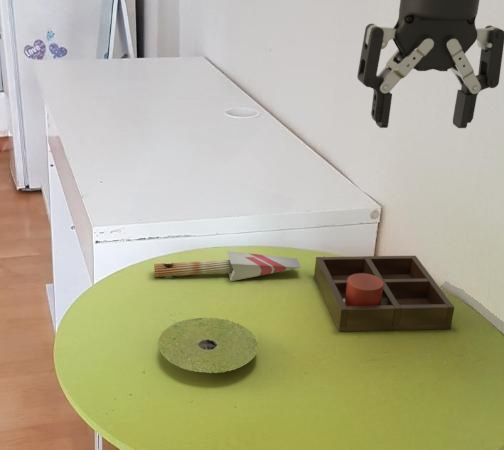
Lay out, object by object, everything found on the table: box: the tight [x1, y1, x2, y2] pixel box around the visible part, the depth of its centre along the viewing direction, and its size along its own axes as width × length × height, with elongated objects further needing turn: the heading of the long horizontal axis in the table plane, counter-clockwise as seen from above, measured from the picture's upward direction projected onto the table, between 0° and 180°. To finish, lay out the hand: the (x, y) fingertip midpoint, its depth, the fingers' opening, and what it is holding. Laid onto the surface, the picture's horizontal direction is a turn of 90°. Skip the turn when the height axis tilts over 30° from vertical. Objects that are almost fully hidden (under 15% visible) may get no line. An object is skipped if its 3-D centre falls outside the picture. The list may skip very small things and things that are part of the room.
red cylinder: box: [345, 273, 384, 307], centre depth 94 cm, size 4×4×4 cm
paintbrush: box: [153, 250, 302, 282], centre depth 103 cm, size 4×3×20 cm
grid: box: [313, 255, 455, 332], centre depth 97 cm, size 14×14×3 cm
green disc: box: [157, 317, 259, 374], centre depth 85 cm, size 11×11×2 cm
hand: (420, 126), depth 80 cm, fingers open, 8 cm apart
